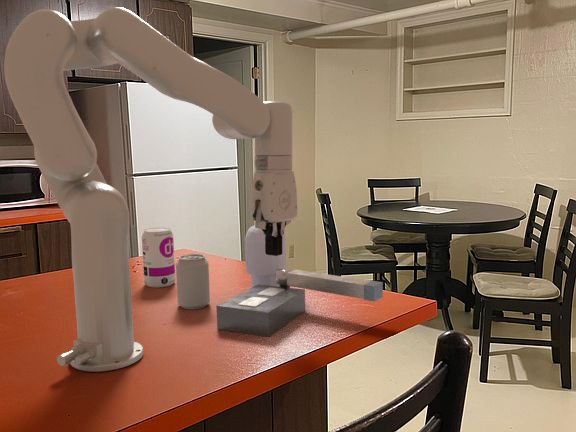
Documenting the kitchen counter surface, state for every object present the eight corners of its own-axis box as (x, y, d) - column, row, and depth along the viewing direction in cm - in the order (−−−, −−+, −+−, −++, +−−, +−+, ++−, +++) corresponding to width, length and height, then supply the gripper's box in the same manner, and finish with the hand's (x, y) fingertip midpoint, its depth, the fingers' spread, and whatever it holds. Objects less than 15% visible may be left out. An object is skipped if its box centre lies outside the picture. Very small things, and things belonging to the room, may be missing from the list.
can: (203, 311, 128) (201, 259, 127) (172, 309, 130) (170, 258, 128) (214, 301, 136) (212, 252, 134) (185, 300, 137) (182, 252, 135)
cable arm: (382, 296, 118) (383, 282, 118) (373, 301, 115) (374, 286, 114) (282, 280, 134) (282, 266, 133) (272, 283, 130) (272, 270, 130)
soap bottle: (263, 301, 135) (261, 201, 132) (238, 292, 143) (235, 198, 140) (295, 292, 142) (293, 197, 139) (269, 285, 150) (267, 195, 146)
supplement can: (181, 282, 154) (179, 228, 152) (159, 289, 147) (156, 233, 145) (160, 279, 158) (157, 226, 156) (138, 285, 152) (134, 230, 150)
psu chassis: (269, 336, 111) (268, 311, 110) (217, 329, 116) (216, 304, 115) (312, 306, 131) (311, 283, 130) (266, 300, 136) (265, 279, 135)
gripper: (265, 166, 105) (265, 263, 107) (309, 163, 117) (309, 251, 119) (234, 165, 109) (235, 258, 111) (280, 163, 121) (280, 247, 123)
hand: (273, 254), depth 115 cm, fingers closed
